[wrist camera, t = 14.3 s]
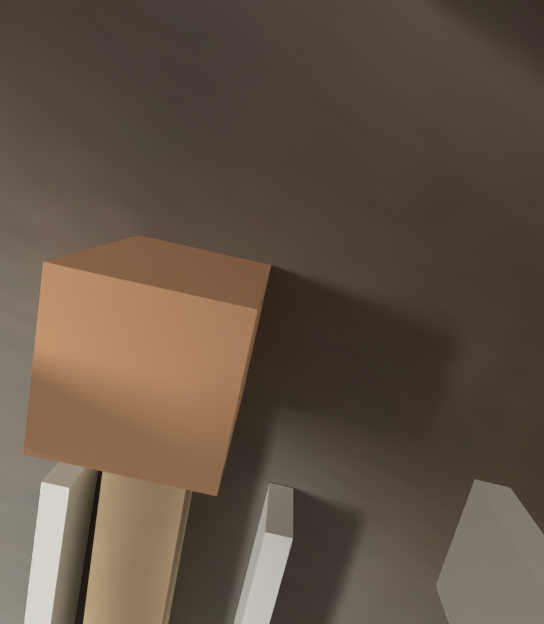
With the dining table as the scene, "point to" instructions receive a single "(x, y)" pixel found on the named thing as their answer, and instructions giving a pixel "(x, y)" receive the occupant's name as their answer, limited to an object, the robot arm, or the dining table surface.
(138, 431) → the block
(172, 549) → the rod
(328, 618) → the dining table surface
